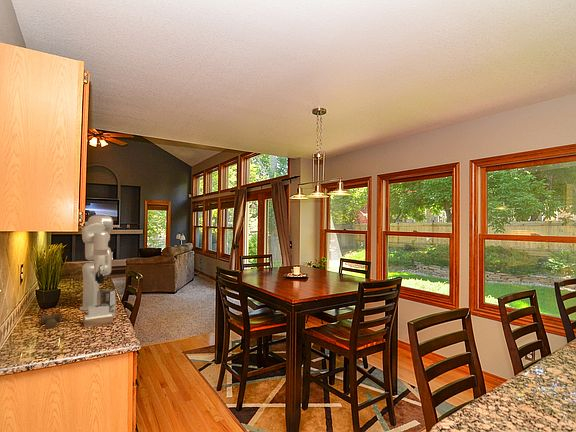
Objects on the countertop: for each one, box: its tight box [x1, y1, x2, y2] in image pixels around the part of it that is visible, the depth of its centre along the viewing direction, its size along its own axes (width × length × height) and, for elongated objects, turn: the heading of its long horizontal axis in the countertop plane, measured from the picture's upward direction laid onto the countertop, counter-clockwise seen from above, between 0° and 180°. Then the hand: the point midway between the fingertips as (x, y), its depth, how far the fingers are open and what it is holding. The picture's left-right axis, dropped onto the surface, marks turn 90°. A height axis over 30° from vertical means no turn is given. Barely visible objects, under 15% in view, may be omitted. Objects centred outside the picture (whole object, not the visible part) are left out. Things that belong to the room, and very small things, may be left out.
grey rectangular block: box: [40, 312, 62, 330], centre depth 185 cm, size 6×10×20 cm
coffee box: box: [97, 289, 117, 317], centre depth 203 cm, size 9×6×16 cm
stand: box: [82, 314, 114, 328], centre depth 188 cm, size 9×14×4 cm, turn 127°
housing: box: [84, 304, 112, 318], centre depth 188 cm, size 6×13×6 cm, turn 127°
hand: (99, 282), depth 189 cm, fingers open, 9 cm apart
